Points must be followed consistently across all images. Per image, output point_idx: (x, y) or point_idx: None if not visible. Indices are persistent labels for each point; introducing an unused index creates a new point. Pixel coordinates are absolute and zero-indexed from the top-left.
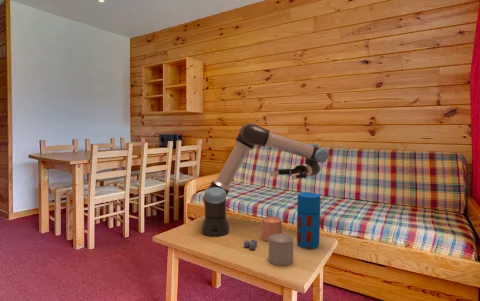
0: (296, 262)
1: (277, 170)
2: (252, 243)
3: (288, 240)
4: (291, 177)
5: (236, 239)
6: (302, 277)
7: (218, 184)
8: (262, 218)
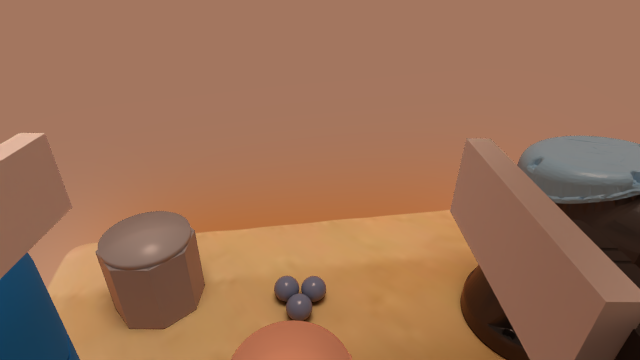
0: (102, 315)
1: (605, 275)
2: (283, 277)
3: (111, 234)
4: (59, 176)
5: (395, 318)
6: (73, 264)
7: None
8: (344, 348)
